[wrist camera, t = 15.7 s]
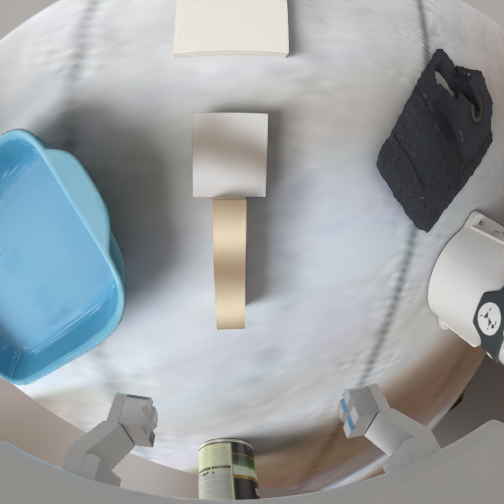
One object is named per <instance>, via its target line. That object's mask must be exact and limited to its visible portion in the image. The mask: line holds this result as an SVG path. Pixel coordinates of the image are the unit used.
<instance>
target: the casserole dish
mask: <svg viewBox="0 0 504 504" xmlns="http://www.w3.org/2000/svg"><path fill="white" fill-rule="evenodd" d="M125 301H126V271H125V264H124V258H123V255H122V252H121V249H120V247H119V245H118V243H117V241H116V239H115V237H114V235H113V233H112V231H111V225H110V215H109V211H108V208H107V205H106V203H105V201H104V199H103V197H102V195H101V193H100V192H99V190H98V188H97V187H96V185H95V183H94V181H93V180H92V178H91V177H90V175H89V174H88V172H87V171H86V169H85V168H84V166H83V165H82V163H81V162H80V161H79V160H78V159H77V158H76V157H75V156H74V155H73V154H71V153H69V152H67V151H65V150H60V149H54V148H53V147H52V146H51V145H49V144H48V143H46V142H45V141H43V140H42V139H40V138H39V137H37V136H36V135H34V134H33V133H31V132H29V131H27V130H24V129H13V130H10V131H8V132H6V133H4V134H3V135H1V136H0V376H1V377H2V378H3V379H5V380H6V381H8V382H10V383H12V384H16V385H26V384H30V383H32V382H34V381H36V380H38V379H40V378H42V377H44V376H46V375H47V374H49V373H51V372H53V371H54V370H56V369H58V368H60V367H62V366H63V365H65V364H67V363H69V362H70V361H72V360H74V359H76V358H77V357H79V356H81V355H83V354H84V353H86V352H88V351H89V350H91V349H92V348H94V347H95V346H97V345H98V344H100V343H101V342H103V341H104V340H105V339H106V338H107V337H109V336H110V335H111V334H112V332H113V331H114V330H115V329H116V328H117V326H118V325H119V323H120V321H121V319H122V316H123V313H124V309H125Z"/></svg>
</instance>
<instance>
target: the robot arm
mask: <svg viewBox="0 0 504 504" xmlns="http://www.w3.org/2000/svg"><path fill="white" fill-rule="evenodd" d="M428 302H429V306H430V308H431V310H432V312H433V313H434V314H435V315H437V317H438V321H439V326H440V327H441V328H442V329H444V330H447V329H449V328H451V329H452V330H453V331H454V332H456V333H457V334H458V335H459V336H460V337H462V338H463V339H464V340H465V341H467V342H468V343H469V344H470V345H472V346H474V347H476V346H480V345H481V347H482V348H483V349H484V350H485V351H486V352H487V354H488V355H489V356H490V357H491V358H493V359H494V360H495V361H496V362H498V363H500V362H502V364H503V365H504V227H503V226H501V225H500V224H498V223H496V222H495V221H493V220H491V219H490V218H488V217H486V216H484V215H483V214H481V213H479V212H477V211H473V212H472V213H471V215H470V216H469V218H468V220H467V221H466V223H465V225H464V227H463V228H462V229H461V230H460V231H459V232H458V233H457V234H455V235H454V236H453V237H452V239H451V240H450V241H449V242H448V243H447V245H446V246H445V248H444V249H443V251H442V252H441V254H440V256H439V258H438V260H437V262H436V264H435V267H434V269H433V272H432V275H431V278H430V283H429V288H428ZM342 395H343V399H342V400H340V402H339V405H338V412H339V417H340V419H341V420H342V421H343V422H345V424H344V426H343V428H344V431H345V434H346V436H347V438H351V437H356V436H361V435H364V436H366V437H367V438H368V439H369V440H370V441H372V442H373V443H374V444H375V445H376V446H378V447H379V448H380V449H381V450H383V451H384V452H385V453H386V454H388V455H389V456H390V458H389V459H388V460H387V461H386V462H385V464H384V465H383V468H384V471H385V474H382V475H379V476H376V477H373V478H370V479H366V480H363V481H360V482H356V483H352V484H349V485H345V486H341V487H337V488H332V489H328V490H323V491H318V492H312V493H307V494H300V495H295V496H286V497H277V498H266V499H250V500H207V499H191V498H180V497H172V496H164V495H157V494H151V493H145V492H140V491H135V490H130V489H125V488H121V487H120V482H121V479H120V478H119V476H117V475H116V474H115V473H114V472H113V471H112V469H113V468H114V467H115V466H116V465H117V464H118V463H119V462H120V461H121V460H122V459H123V458H124V457H125V456H126V455H127V454H128V453H129V452H130V451H131V450H132V448H133V447H134V446H135V445H139V446H147V447H153V444H154V439H155V434H154V432H153V430H154V429H155V428H156V427H157V422H158V415H157V411H156V408H155V407H153V406H152V404H153V401H152V399H151V397H143V396H136V395H129V394H122V393H117V394H116V395H115V398H114V401H113V404H112V406H111V409H110V412H109V415H108V418H107V421H102V422H101V423H100V424H98V425H97V426H96V427H95V428H93V429H92V430H91V431H89V432H88V433H87V434H85V435H84V436H83V437H81V438H80V439H78V440H77V441H76V442H74V443H73V444H72V445H70V446H69V449H68V451H67V454H66V457H65V460H64V463H63V466H62V469H61V468H59V467H56V466H54V465H52V464H49V463H47V462H45V461H42V460H40V459H38V458H36V457H34V456H32V455H30V454H28V453H26V452H24V451H22V450H20V449H18V448H17V447H14V446H13V445H11V444H9V443H7V442H0V504H504V424H503V423H501V422H499V421H495V420H490V421H488V422H486V423H485V424H483V425H482V426H480V427H479V428H477V429H476V430H474V431H473V432H471V433H469V434H468V435H466V436H464V437H463V438H461V439H459V440H458V441H456V442H454V443H452V444H450V445H449V446H447V447H445V448H443V449H441V448H440V446H439V445H438V443H437V441H436V439H435V437H434V435H433V434H432V432H431V430H430V429H428V428H427V427H425V426H423V425H421V424H420V423H418V422H416V421H414V420H413V419H411V418H409V417H407V416H406V415H404V414H402V413H401V412H399V411H397V410H395V409H394V408H393V409H391V408H390V406H389V404H388V403H387V401H386V399H385V397H384V395H383V393H382V391H381V389H380V388H379V386H378V384H371V385H366V386H360V387H356V388H351V389H346V390H344V392H343V394H342Z"/></svg>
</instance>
